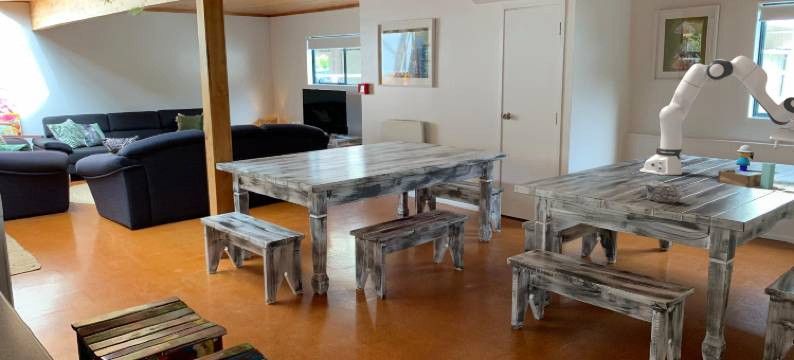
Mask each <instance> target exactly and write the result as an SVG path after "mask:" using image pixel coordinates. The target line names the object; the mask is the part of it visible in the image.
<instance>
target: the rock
mask: <svg viewBox="0 0 794 360" xmlns="http://www.w3.org/2000/svg"><path fill="white" fill-rule="evenodd" d="M644 185H645V187H646V199H649V200H652V201H654V202H658V203H669V204H674V203H676V202H680V200H681V199H682V195H681V194H680V192H679V190H678V187H677V186H676V185H675V184H673V183H671V182H670V183H663V182H657V181H656V182H652V181H651V182H645V184H644Z"/></svg>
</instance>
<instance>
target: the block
mask: <svg viewBox="0 0 794 360" xmlns="http://www.w3.org/2000/svg"><path fill="white" fill-rule="evenodd" d="M761 166H762V167H761V173H760V174H761V183H760V187H763V188H773V187H774V182H775V181H774V180H775V171H776V163H773V162H763V163H762V165H761Z"/></svg>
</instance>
